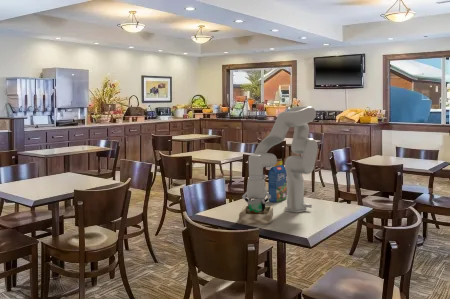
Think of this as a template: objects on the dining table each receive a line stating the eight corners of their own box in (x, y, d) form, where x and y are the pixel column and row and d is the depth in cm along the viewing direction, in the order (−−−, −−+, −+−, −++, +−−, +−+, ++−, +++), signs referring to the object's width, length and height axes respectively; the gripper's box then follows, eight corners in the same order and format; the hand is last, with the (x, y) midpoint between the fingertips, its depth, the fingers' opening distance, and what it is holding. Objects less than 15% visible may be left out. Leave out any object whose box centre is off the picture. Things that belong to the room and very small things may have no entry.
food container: (261, 218, 227) (257, 200, 226) (250, 219, 229) (247, 201, 229) (269, 213, 238) (266, 195, 237) (259, 214, 240) (255, 196, 240)
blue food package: (268, 201, 276) (267, 162, 273) (278, 198, 285) (278, 160, 282) (276, 202, 272) (276, 163, 269) (286, 199, 281) (286, 160, 278)
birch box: (273, 214, 242) (272, 206, 242) (269, 224, 223) (269, 215, 222) (244, 214, 245) (244, 205, 245) (239, 223, 226) (239, 214, 225)
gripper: (272, 176, 234) (273, 209, 236) (241, 176, 237) (241, 208, 239) (271, 178, 226) (272, 212, 228) (238, 178, 230) (239, 211, 232)
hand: (256, 210), depth 234 cm, fingers open, 6 cm apart
